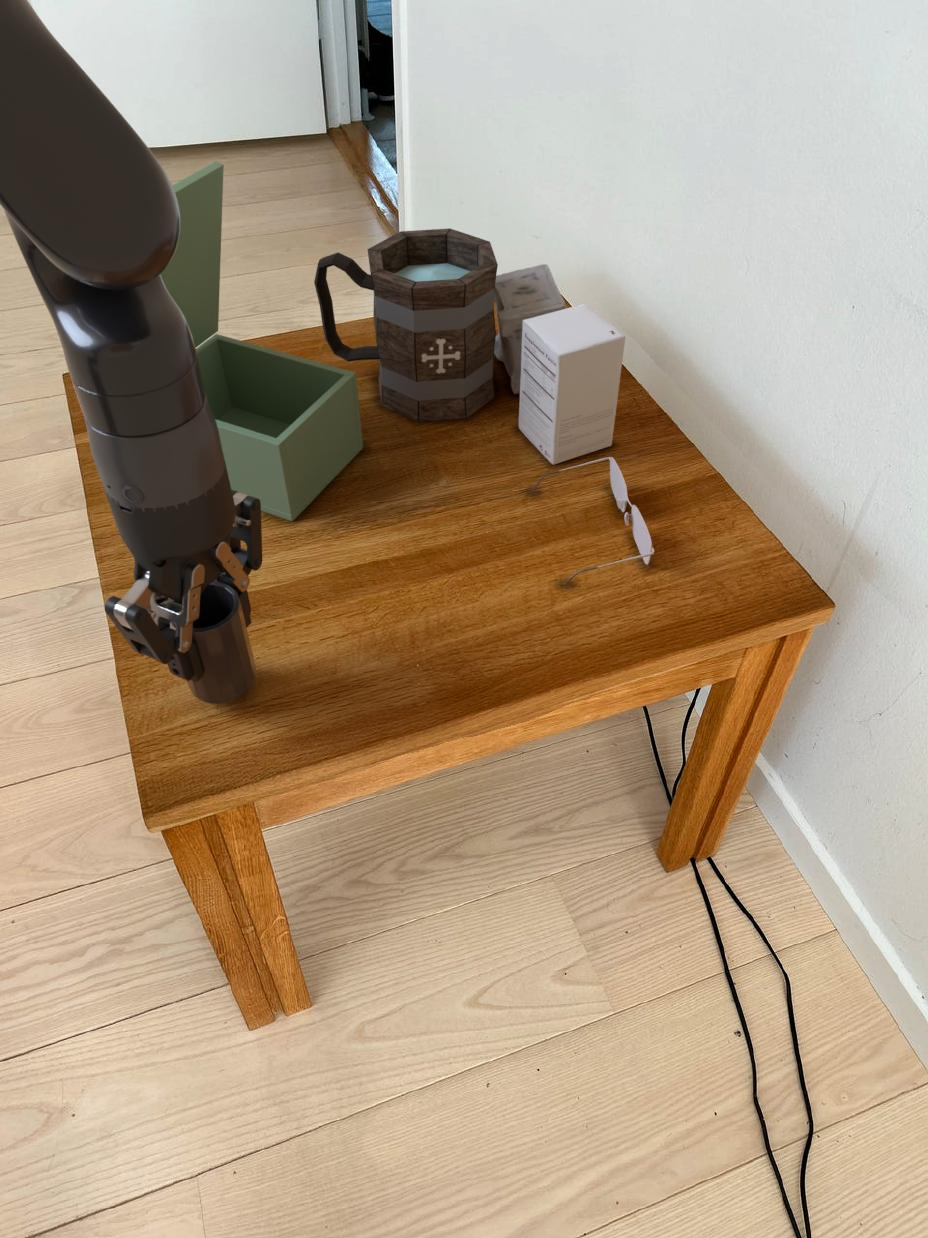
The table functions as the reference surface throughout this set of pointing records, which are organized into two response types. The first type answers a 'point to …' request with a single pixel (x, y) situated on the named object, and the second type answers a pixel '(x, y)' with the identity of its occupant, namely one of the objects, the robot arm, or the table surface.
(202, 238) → the lid
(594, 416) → the white packaging box
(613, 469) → the eyeglasses
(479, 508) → the table surface
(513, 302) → the incense holder
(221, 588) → the cup
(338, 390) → the chest
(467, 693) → the table surface
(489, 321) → the mug
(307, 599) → the table surface
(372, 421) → the table surface
